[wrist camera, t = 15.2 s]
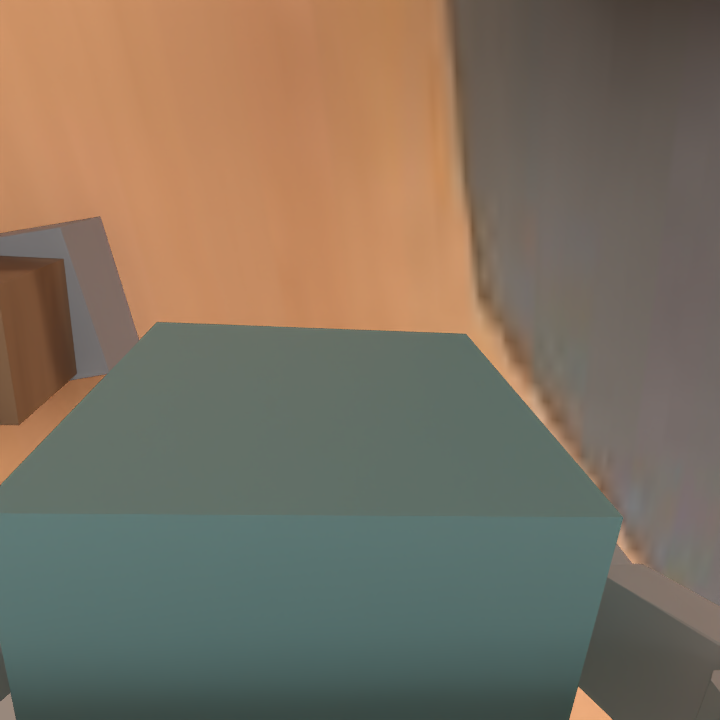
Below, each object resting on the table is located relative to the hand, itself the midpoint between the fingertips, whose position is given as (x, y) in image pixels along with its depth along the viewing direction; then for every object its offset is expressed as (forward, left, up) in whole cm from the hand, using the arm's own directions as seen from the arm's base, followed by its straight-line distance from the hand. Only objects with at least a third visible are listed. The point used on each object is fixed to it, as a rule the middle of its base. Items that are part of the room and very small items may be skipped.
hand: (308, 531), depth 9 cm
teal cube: (0, 0, -2) cm, 2 cm away
